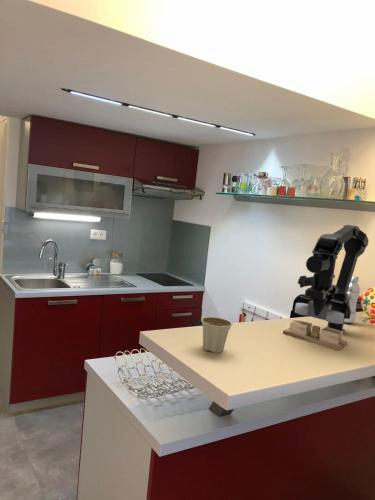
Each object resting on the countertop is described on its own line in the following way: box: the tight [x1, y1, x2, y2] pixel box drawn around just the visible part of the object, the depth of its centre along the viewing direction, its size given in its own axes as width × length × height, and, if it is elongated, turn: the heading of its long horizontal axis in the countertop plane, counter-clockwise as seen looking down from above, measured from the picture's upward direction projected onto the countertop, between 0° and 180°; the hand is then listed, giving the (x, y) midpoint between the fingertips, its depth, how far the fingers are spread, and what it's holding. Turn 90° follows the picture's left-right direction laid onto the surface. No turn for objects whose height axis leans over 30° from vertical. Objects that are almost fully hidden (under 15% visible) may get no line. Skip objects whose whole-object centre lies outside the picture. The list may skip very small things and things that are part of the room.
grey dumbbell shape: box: [294, 299, 344, 324], centre depth 145 cm, size 6×17×5 cm, turn 55°
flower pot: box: [200, 316, 233, 353], centre depth 123 cm, size 9×9×9 cm
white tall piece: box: [344, 275, 361, 324], centre depth 173 cm, size 6×7×20 cm
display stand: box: [282, 318, 348, 351], centre depth 146 cm, size 10×20×4 cm, turn 55°
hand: (318, 314), depth 145 cm, fingers closed on grey dumbbell shape, 4 cm apart
